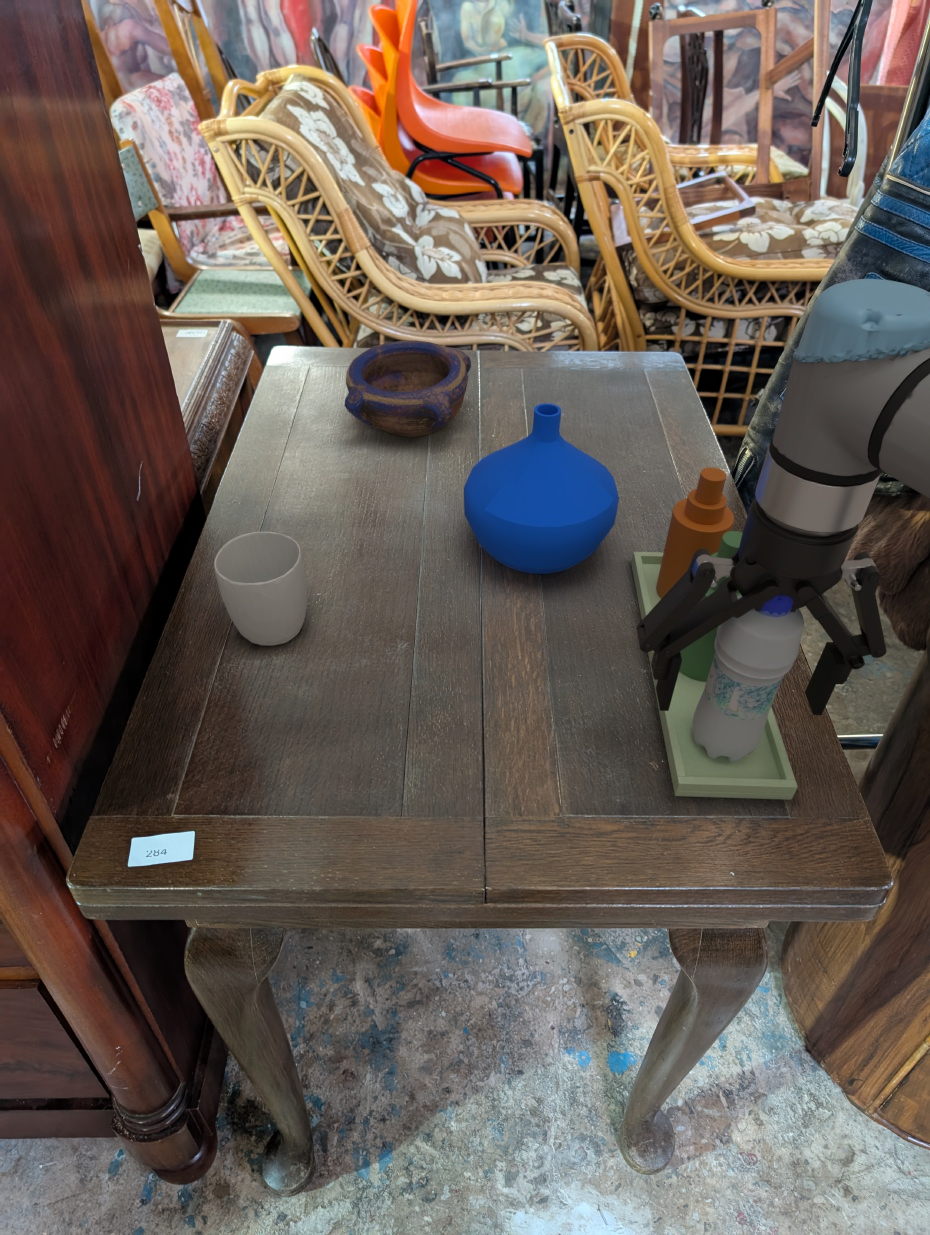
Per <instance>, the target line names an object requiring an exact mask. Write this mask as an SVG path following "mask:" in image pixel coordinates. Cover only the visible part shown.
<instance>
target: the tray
mask: <svg viewBox="0 0 930 1235" xmlns="http://www.w3.org/2000/svg"><path fill="white" fill-rule="evenodd" d="M663 553H664V551H661V552H660V551H659V552H658V551H657V552H656V551H633V553H632V559H631V564H630V566H631V570H632V575H633V576H632V577H633V581H634V587H635V592H636V597H637V602H638V608H639V613H640V618H641V621H642V620H643V619H644V618H645V616H646V615H647V614H648V613H649V612H650V611H651V610H652V609H653V608H654V607H655V606H656V604H657V603H658V602H659V601H660V600H661V598H660V597H659V595H658V594H657V591H656V585H657V580H658V576H659V571H660V567H661V562H662V558H663ZM653 653H654V651H653V650H652V651H650V652H647V655H648V659H649V660H648V661H649V666H650V670H651V671H650V672H651V676H652V681H653V687H654V692H655V697H656V704H657V707H658V714H659V718H660V725H661V730H662V735H663V741H664V747H665V751H666V758H667V761H668V767H669V772H670V778H671V783H672V789H673V794H674V796H675V797H692V798H696V797H697V798H721V799H724V798H725V799H727V798H728V799H757V800H759V799H760V800H788V801H791V800H793V798H794V795H795V793H796V792H797V790H798V784H797V780H796V778H795V775H794V772H793V769H792V765H791V762H790V760H789V756H788V753H787V750H786V747H785V744H784V741H783V738H782V735H781V731H780V728H779V726H778V722H777V719H776V716H775V714H774V710H773V706H771V708H770V711H769V714H768V717H767V721H766V725H765V728H764V731H763V734H762V737H761V740H760V742H759V744H758V746H757V747H756V749H755V750H754V751H753V752H752V753H750V754H747V755H745V756H744V757H743V758H741V759H740V760H738V761H736V762H730V761H728V759H727V757H725V756H718V757H717V758H716V759H713V758H711V757H709V756H708V754H707V751H706V749H705V747H704V746H698V745H696V743H695V741H694V738H693V724H692V722H693V716H694V713H695V710H696V707H697V705H698V702H699V700H700V698H701V696H702V693H703V691H704V688H705V685H706V682H705V681H698V680H694V679H692V678H689V677H687V676H685V675H684V674H682V673H681V672H680V671H679V674H678V678H677V681H676V685H675V689H674V692H673V696H672V700H671V703H670V707H669V711H660V708H659V702H658V697H657V692H656V685H657V681H658V680H655V679H654V677H653V672H652V667H651V662H652V658H653Z"/></svg>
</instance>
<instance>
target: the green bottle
mask: <svg viewBox="0 0 930 1235" xmlns="http://www.w3.org/2000/svg"><path fill="white" fill-rule="evenodd" d="M742 533H743V531H738V530H731V531H729V532H726V533H725V534H724V535H723V536H722V540H721V544H720V547H719V551H718V552H717V553H714V554H712V555H711V557H718V558H727V559H730V558H731V557H732V556H733V555H734V554H735V553H736V552H737V550H738V549H739V546H740V541H741V537H742ZM728 577H729V576H724V577H722V578H721V579H720V580H719V581H718V582H717V586H716V587H714V588H712V587H710V588H709V590H708V592H707V593H706V595H705V596H704V597H703V598H702V599H701V600H703V599H704V598H706V597H707V596H709V595H710V594H712V593H713V592H715V591H716V590H717V589H718V586H719V584H720V583H721V582H722V581H724V580H725V579H726V578H728ZM736 595H737V596H739V595H740V592H739V591H738V590H737V591H736ZM718 627H719V626H718ZM718 627H716V628H715V629H713V630H712V631H710V632H709V633H707V634H706V635H704V636H703V637H701V638H700V639H698V640H697V641H695V642H694V643H692V644H691V645H689V646H688V647H686V648H685V649H683V650H681V651H680V653H681V658H682V663H681V666H680V670H679V671H680V672H681V673H682V674H684V675H685V676H687V677H689V678H692V679H694V680H698V681H705V682H706V681H707V678H708V675H709V672H710V668H711V665H712V662H713V659H714V656H715V652H716V651H715V647H714V643H715V638H716V637H717V629H718Z"/></svg>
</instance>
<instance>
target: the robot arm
mask: <svg viewBox="0 0 930 1235" xmlns="http://www.w3.org/2000/svg"><path fill="white" fill-rule="evenodd" d="M882 473H883V474H885V475H888V476H890V477H892V478H894V479H896V480H897V481H898V482H900V483H902V484H904V485H905V486H907V487H909V488H911V489H913V491H916V492H918V493H919V494H921V495H923V496H924V497H926V498H928V499H929V500H930V292H929V291H927V290H925V289H923V288H922V287H921V288H920V287H918V286H916V285H913V284H909V283H904V282H899V281H894V280H889V279H879V278H857V279H856V278H855V279H850V280H846V281H843V282H840V283H834V284H833V285H831V286H828V288H826V289H824V290H823V291H822V292H821V293H820V294H819V295H818V296H817V298H815V301H814V303H813V305H812V307H811V311H810V313H809V316H808V318H807V321H806V324H805V327H804V330H803V332H802V335H801V338H800V340H799V343H798V346H797V347H796V348H795V349H794V350H793V354H792V363H791V367H790V371H789V375H788V379H787V382H786V386H785V391H784V395H783V398H782V402H781V407H780V411H779V414H778V418H777V421H776V425H775V429H774V431H773V432H772V434H771V439H770V443H769V444H768V446H767V450H766V454H765V457H764V461H763V464H762V467H761V471H760V474H759V477H758V481H757V484H756V489H755V493H754V495H755V496H754V497H753V498H752V500H751V503H750V506H749V510H748V513H747V516H746V520H745V524H744V526H743V530H742V537H741V541H740V546H739V549H738V550H737V552H736V553H735V554H734V555H733V556H732V557H731V558H730V559H727V558H718V557H711V556H710V553H709V551H708V550H707V549H699V550H697V551H696V552H695V554H694V556H693V558H692V561H691V563H690V566H689V568H688V570H687V572H686V573H685V574H684V575H683V576H682V577H681V578H680V579H679V580H678V581H677V582H676V584H675V585H674V586H673V587H672V588H671V589H670V590H669V591H668V592H667V593H666V595H665V596H664V597H663V598H662V599H661V600H660V601H659V602H658V603H657V604H656V606H655V607H654V608H653V609H652V610H651V611H650V612H649V613H648V614H647V615H646V616H645V618H644V619H643V620H642V619H641V621H640V622H639V623H637V626H636V633H637V638H638V643H639V648H640V651H641V652H643V653H648V652H650V651H652V650H653V651H654V653H653V658H652V662H651V666H650V668H651V667H652V672H653V677H654V679H655V680H658V681H657V685H656V692H657V697H658V702H659V708H660V711H669V707H670V703H671V700H672V696H673V692H674V689H675V685H676V681H677V678H678V674H679V670H680V666H681V663H682V658H681V653H680V651H681V650H683V649H685V648H686V647H688V646H689V645H691V644H692V643H694V642H695V641H697V640H698V639H700V638H701V637H703V636H704V635H706V634H707V633H709V632H710V631H712V630H713V629H715V628H716V627H718V626H720V625H721V624H723V623H724V622H726V621H727V620H729V619H730V618H732V617H735V618H739V617H741V616H743V615H744V614H746V613H747V612H749V611H750V610H752V609H753V608H755V610H756V611H761V608H763V606H764V603H765V602H768V601H770V600H771V599H773V598H774V597H776V596H778V595H782V596H789V597H791V598H792V600H793V605H792V608H791V610H790V612H795V611H796V609H799V610H800V609H803V608H804V607H806V609H807V610H808V611H809V613H810V614H811V615H812V617H813V619H815V621H817V622H818V623H819V625H820V626H821V627H822V628H823V630H824V631H825V633H826V634H827V636H828V637H829V638H830V640H831V641H826V643H825V645H824V647H823V650H822V652H821V654H820V657H819V659H818V661H817V664H816V665H815V668H814V670H813V672H812V674H811V677H810V679H809V682H808V683H807V686H806V688H805V690H804V694H805V697H806V700H807V702H808V705H809V708H810V710H811V713H812V715H813V716H822V715H823V713H824V712H825V709H826V707H827V705H828V702H829V701H830V699H831V697H832V695H833V693H834V690H835V688H836V686H837V685H844V684H845V683H846V682H847V681H848V679H849V676H850V674H851V672H852V670H859V669H862V668H863V667H864V666H865V665H866V664H865V663H866V662H865V660H864V657H866V656H871V657H872V658H873V659H879V658H882V657H884V656H885V655H886V654H887V647H886V640H885V635H884V631H883V625H882V621H881V616H880V610H879V606H878V599H877V596H876V593H877V590H878V587H879V583H880V580H881V573H880V570H879V569H878V567H877V565H876V563H875V561H874V560H873V558H872V556H871V555H870V553H869V552H867V551H860V552H859V553H857V554H856V555H854V557H853V559H852V560H851V559H850V560H847V557H848V555H849V552H850V549H851V547H852V545H853V542H854V540H855V537H856V535H857V533H858V530H859V524H860V523H861V522H862V521H863V520H864V518H865V515H866V512H867V510H868V508H869V505H870V503H871V500H872V497H873V496H874V495H873V494H874V492H875V489H876V487H877V484H878V482H879V480H880V478H881V474H882ZM724 576H729V577H728V578H726V579H725V580H724V581H722V582H721V583H720V584H719V586H718V589H717V590H716V591H715V592H713V593H712V594H710V595H709V596H707V597H706V598H704V599H703V600H701V599H702V598H703V597H704V596H705V595H706V593H707V592H708V590H709V588H710V587H712V588H714V587H716V586H717V582H718V581H719V580H720V579H721V578H722V577H724ZM842 579H843V580H844V582H845V583H846V586H847V587H848V588H850V589H851V590H850V591H851V594H852V598H853V603H854V608H855V612H856V617H857V621H858V626H859V630H860V633H859V634H854V635H853V634H852V632H851V631H850V629H849V628H848V626H846V624H845V623H844V621H843V620H842V618H841V617H840V616H839V614H838V613H837V611H836V610H835V608H834V607H833V605H832V604H831V603H830V601H829V600H828V598H827V597H826V595H825V594H824V593H826V592H828V591H829V590H830V589H832V588H833V587H835V586H836V585H837V584H838V583H839V582H841V580H842ZM737 590H738V591H739V592H740V594H741V596H742V597H741V598H740V599H738V598H737V595H736V591H737ZM652 672H651V673H652ZM653 677H652V678H653Z"/></svg>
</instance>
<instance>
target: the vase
mask: <svg viewBox="0 0 930 1235" xmlns="http://www.w3.org/2000/svg"><path fill="white" fill-rule="evenodd" d="M561 416H562V409H561V407H560V406H559V405H558V404H555V403H547V402H546V403H545V402H544V403H540V404H537V405H535V406H534V408H533V419H532V420H533V421H532V430H531V433H529V434H528V435H527V436H526V437H524V438H523V439H521V440H518V441H516V442H514V443H512V444H510V445H507V446H505V447H503V448H500V449H498V450H496V451H493V452H492V453H490V454H488V455H486V456H484V457H482V458H481V459H480V460H479V461H478V462H477V463H475V465H474V466H472V468H471V471H470V472H469V474H468V477H467V479H466V481H465V484H464V486H463V511H464V512H463V513H464V516H465V518H466V521H467V523H468V525H469V527H470V529H471V530H472V533H473V535H474V537H475V539H476V541H477V543H478V545H480V547H481V548H482V549H483V550H485V551H486V552H487V554H488V555H490V556H491V557H492V558H493V559H494V560H495V561H497V562H498V563H500V564H502V565H504V566H505V567H507V568H509V569H512V570H516V571H518V572H522V573H526V574H533V575H549V574H553V573H558V572H563V571H566V570H568V569H571V568H574V567H575V566H577V565H578V564H581V563H582V562H583V561H584V560H586V559H587V558H588V557H590V556H591V555H593V554H594V553H596V551H597V550H598V548H599V547H600V546H601V544H602V543H603V541H604V540H605V539H606V537H607V536H608V534H609V533H610V532H611V530H612V528H613V527H614V526H615V522H616V518H617V512H618V506H619V502H620V497H619V492H618V488H617V485H616V480H615V478H614V475H613V474H612V473H611V471H609V469H608V468H607V467H606V466H605V465H604V464H603V463H601V462H600V461H598V460H597V459H596V458H594V457H593V456H591V455H589V454H588V453H585V451H582V450H581V449H578V448H577V447H576V446H575V445H573V444H571V443H570V442H568V441H567V440H565V438H563V436H562V435H561V432H560V429H561V427H560V426H561V418H562V417H561Z"/></svg>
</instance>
